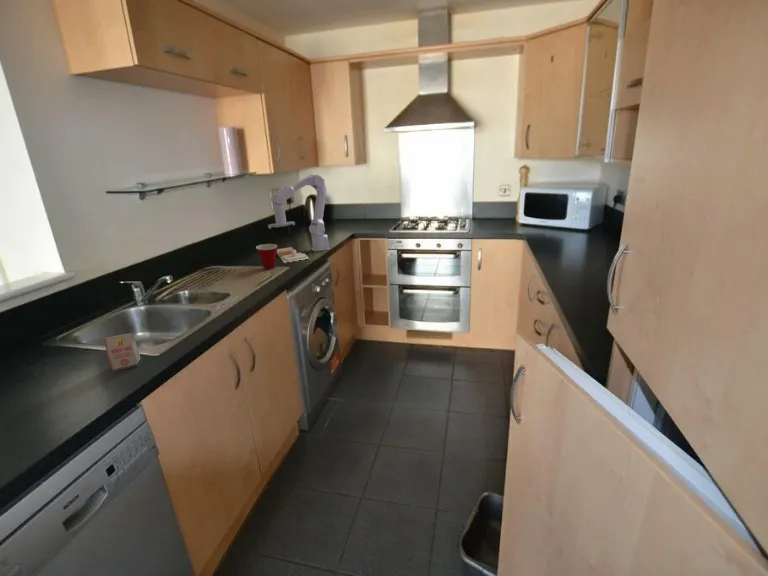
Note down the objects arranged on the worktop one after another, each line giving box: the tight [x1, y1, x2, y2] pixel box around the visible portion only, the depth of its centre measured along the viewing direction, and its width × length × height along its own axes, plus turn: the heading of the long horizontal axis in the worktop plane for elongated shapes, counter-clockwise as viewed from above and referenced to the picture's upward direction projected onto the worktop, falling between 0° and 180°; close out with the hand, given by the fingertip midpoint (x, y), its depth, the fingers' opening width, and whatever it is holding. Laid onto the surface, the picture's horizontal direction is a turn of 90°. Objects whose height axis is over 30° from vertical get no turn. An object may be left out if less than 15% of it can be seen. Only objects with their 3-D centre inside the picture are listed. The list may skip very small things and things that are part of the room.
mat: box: [280, 252, 309, 264], centre depth 227 cm, size 14×14×1 cm
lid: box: [282, 249, 308, 261], centre depth 227 cm, size 11×11×4 cm
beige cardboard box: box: [103, 332, 142, 371], centre depth 117 cm, size 4×7×10 cm, turn 109°
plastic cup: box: [255, 243, 278, 270], centre depth 210 cm, size 11×11×12 cm
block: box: [276, 246, 295, 258], centre depth 238 cm, size 9×9×3 cm
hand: (283, 239), depth 229 cm, fingers open, 7 cm apart
